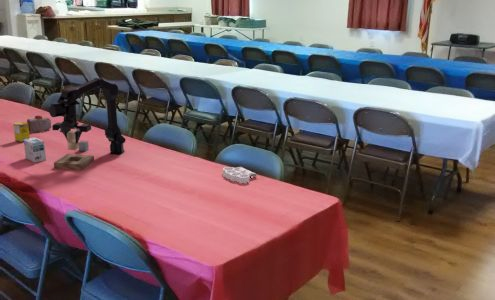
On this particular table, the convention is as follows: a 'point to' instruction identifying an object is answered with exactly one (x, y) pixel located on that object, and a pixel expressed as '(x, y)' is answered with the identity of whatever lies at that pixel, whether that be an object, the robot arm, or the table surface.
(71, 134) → the maple pin
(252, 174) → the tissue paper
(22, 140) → the supplement box
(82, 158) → the walnut sleeve block
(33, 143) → the light bulb box
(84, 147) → the metal stub
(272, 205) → the table surface
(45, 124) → the grey box with knob
